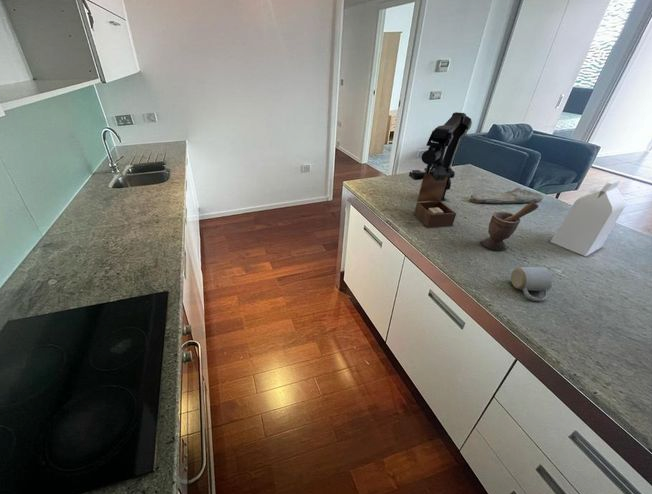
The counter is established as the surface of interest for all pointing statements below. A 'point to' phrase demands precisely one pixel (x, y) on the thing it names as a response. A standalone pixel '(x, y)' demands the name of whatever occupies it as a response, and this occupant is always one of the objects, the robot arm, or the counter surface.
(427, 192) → the lid
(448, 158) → the robot arm
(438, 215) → the chest
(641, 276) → the counter surface
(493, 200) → the elongated rock
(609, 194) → the milk
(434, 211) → the block
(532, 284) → the ceramic mug
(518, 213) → the mortar and pestle
